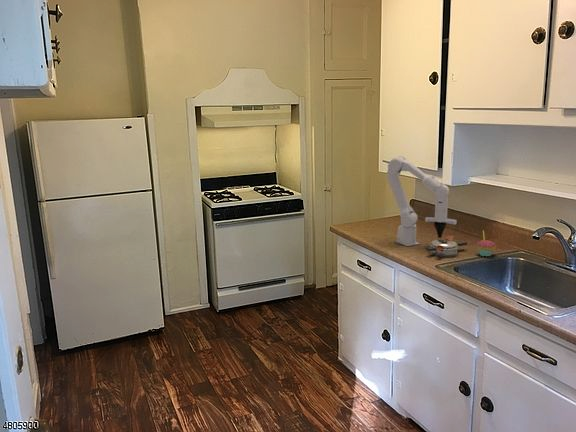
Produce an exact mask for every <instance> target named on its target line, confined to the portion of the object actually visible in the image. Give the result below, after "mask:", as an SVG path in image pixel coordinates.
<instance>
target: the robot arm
mask: <svg viewBox="0 0 576 432" xmlns="http://www.w3.org/2000/svg"><path fill="white" fill-rule="evenodd" d="M401 172H409V173H410V174H412V175H413V176H415V177H416V178H417V179H419V180H420V181H421V182H422V185H423V186H424V187H425V188H427V189H428V190H429V191H431V192H432V193H434V196H435V202H434V203H435V205H434V217H429V216H427V217H425V218H424V222H425V223H427V222H428V223H434V224H433V227H434V228H435V231H436V234H437V238H439V239H442V237H443V233H444V230H445V228H446V226H447V225H448V224H449V225H457V220H458V219H452V218H448V209H449V208H448V207H449V206H448V204H449V201H448V200H449V194H450V188H449V187H448V185H447V184H444V183H443V182H442V181H441V182H440V181H439V180H438V179H436V176H434V175H431V174H426V173H425V172H423V171H422V170H421V169H420V168H418V167H417V166H416V165H415V164H413V162H411V161H410V160H409V159H408V158H407V159H406V157H404V156H400V155H399V156H397V157H394V158H391V160H390V161H389V162H388V164H387V174H386V179H387V181H388V183H389V186H390V189H391V191H392V194H393V196H394V198H395V201H396V205H397V206H398V208H399V216H400V225H399V226H398V228H397V236H396V237H397V239H396V240H395V242H396V243H398V244H401V245H403V246H406V247H410V246H415V245H420V244H421V243H420V242H418V241H417V224H416V223H417V222H418V220H419V216H418V214H417V213H416V212H415V210H414V208H413V207H412V206H411V205H410V203H409V200H408V198H407V195H406V192H405V190H404V188H403V186H402V183H401V181H400V177H399V176H400V174H401Z"/></svg>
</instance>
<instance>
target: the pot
mask: <svg viewBox="0 0 576 432" xmlns="http://www.w3.org/2000/svg"><path fill="white" fill-rule="evenodd" d="M455 242H456V241H455ZM456 243H457V246H456V247H454V248H444V249H443V250H442V251H441V250H436V248H437V247H435V246H433V245H432V242H430V244H429V246H428V247H425V251H427V252H430V255H432V256H435V257H439V258H454V257H456V256H458V249H459V247H462V246H463V247H464V246H467V245H468V241H464V240H461V241H457V242H456Z"/></svg>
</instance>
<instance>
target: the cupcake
mask: <svg viewBox="0 0 576 432" xmlns="http://www.w3.org/2000/svg"><path fill="white" fill-rule="evenodd" d="M475 245H476V249H478V254H479V255H480V256H481V257H484V256H486V257H487V256H489V257H491V256H492V253H493V251H495V250H496V248H497V245H496V243H495V242H494V241H492V240H488V239H486V237H485V231H484V230H482V239H480V240H479V241H477V242H476V243H475ZM487 258H488V257H487Z"/></svg>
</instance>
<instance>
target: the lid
mask: <svg viewBox="0 0 576 432" xmlns="http://www.w3.org/2000/svg"><path fill="white" fill-rule="evenodd" d="M453 239H454V236H453V235H447V236H446V237H445V238H444V239H434V240H432V241H431V243H432V245H433V246H435V247H437V248H436V250H441V251H442V250H443V249H444V248H454V247H456V246H457V243H456V241H453Z"/></svg>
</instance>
